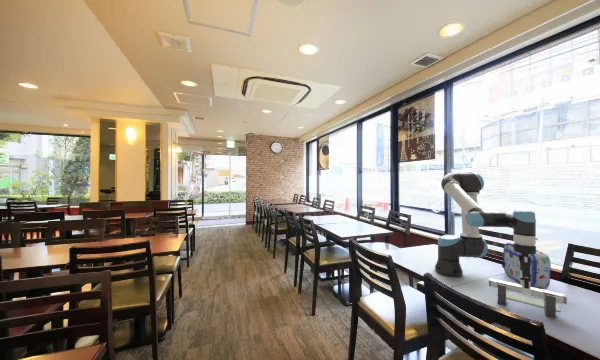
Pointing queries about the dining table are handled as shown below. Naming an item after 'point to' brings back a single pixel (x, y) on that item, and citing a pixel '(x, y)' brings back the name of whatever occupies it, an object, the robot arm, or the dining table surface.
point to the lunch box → (537, 270)
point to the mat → (527, 300)
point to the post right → (550, 306)
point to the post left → (502, 294)
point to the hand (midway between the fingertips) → (525, 289)
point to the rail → (534, 291)
